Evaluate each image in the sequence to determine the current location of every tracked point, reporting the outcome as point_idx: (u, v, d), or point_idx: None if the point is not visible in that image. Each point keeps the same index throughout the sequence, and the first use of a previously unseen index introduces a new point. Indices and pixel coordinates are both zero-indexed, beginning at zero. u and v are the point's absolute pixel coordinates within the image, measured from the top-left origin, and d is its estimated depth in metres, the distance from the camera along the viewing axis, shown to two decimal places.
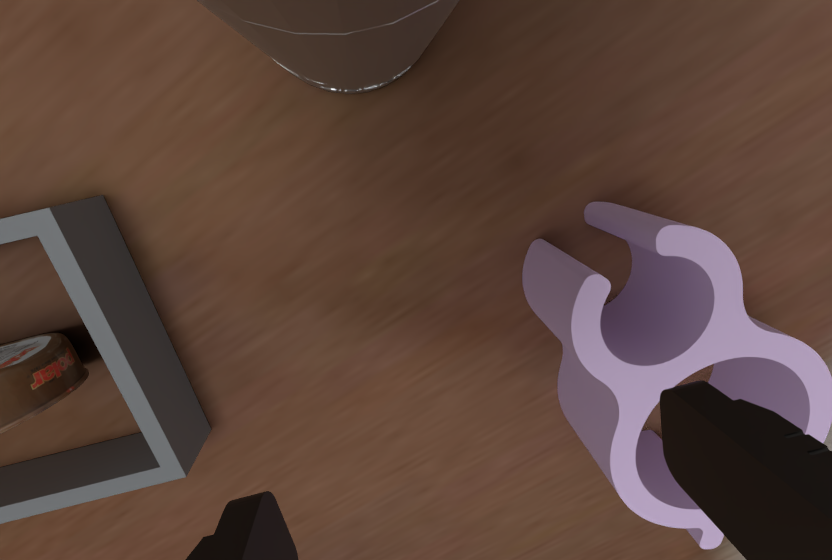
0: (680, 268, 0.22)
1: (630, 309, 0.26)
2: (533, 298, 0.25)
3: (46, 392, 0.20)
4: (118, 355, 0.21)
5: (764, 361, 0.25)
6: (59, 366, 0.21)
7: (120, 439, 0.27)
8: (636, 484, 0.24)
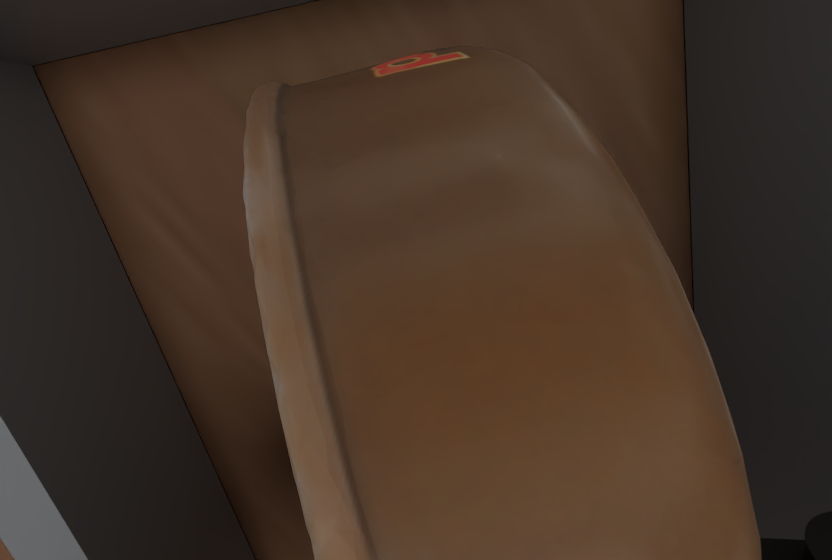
0: None
1: None
2: None
3: None
4: None
5: None
6: None
7: None
8: None
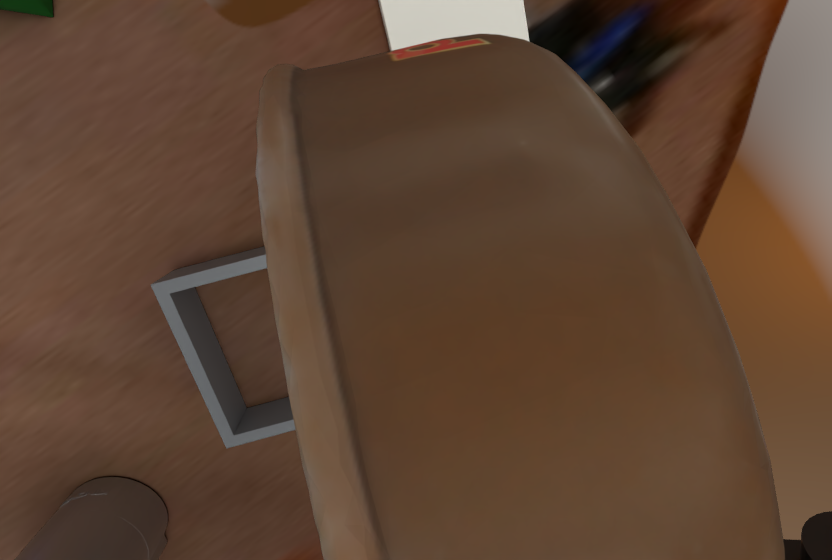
0: None
1: None
2: None
3: None
4: (195, 373, 0.34)
5: None
6: None
7: None
8: None
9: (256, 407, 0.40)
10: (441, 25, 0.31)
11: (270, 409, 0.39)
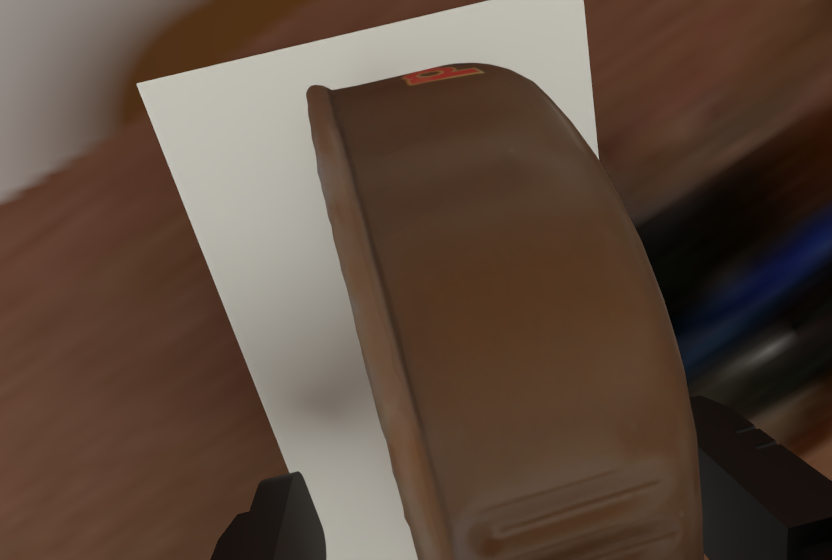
0: None
1: None
2: None
3: None
4: None
5: None
6: None
7: None
8: None
9: None
10: None
11: None
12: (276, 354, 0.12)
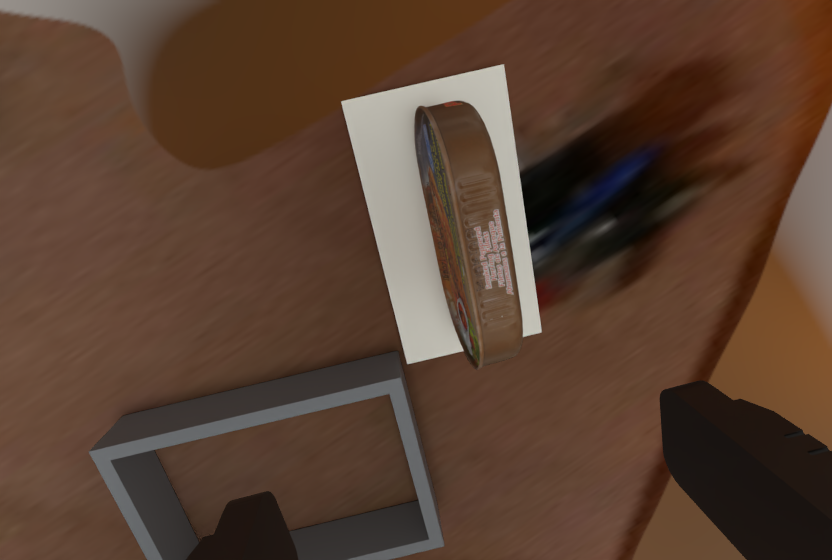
0: None
1: None
2: None
3: None
4: (140, 538, 0.31)
5: None
6: None
7: None
8: None
9: None
10: None
11: None
12: (381, 211, 0.28)
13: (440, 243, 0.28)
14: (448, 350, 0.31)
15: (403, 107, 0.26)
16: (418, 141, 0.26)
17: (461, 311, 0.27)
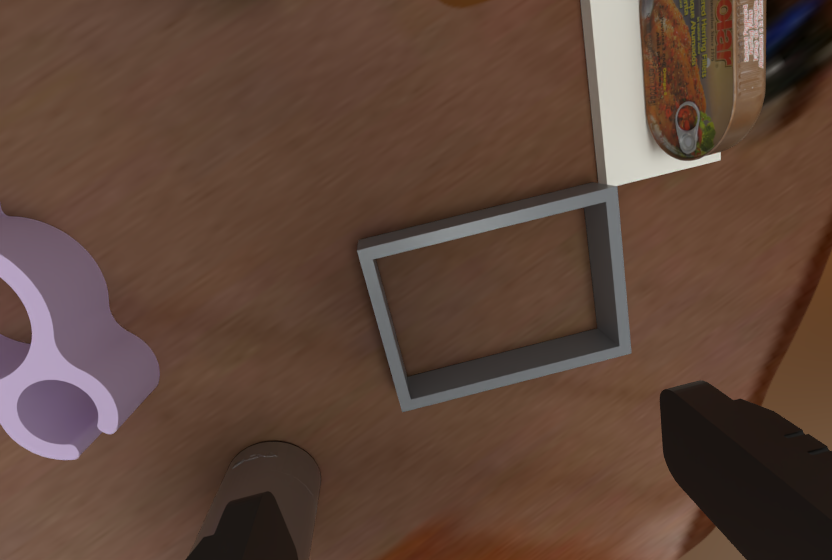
0: (48, 414, 0.35)
1: None
2: (146, 366, 0.37)
3: (705, 155, 0.31)
4: (384, 337, 0.36)
5: None
6: None
7: None
8: (13, 283, 0.29)
9: (417, 376, 0.41)
10: None
11: (434, 377, 0.41)
12: (604, 42, 0.33)
13: (651, 70, 0.34)
14: (642, 175, 0.37)
15: None
16: None
17: (681, 117, 0.32)
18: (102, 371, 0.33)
